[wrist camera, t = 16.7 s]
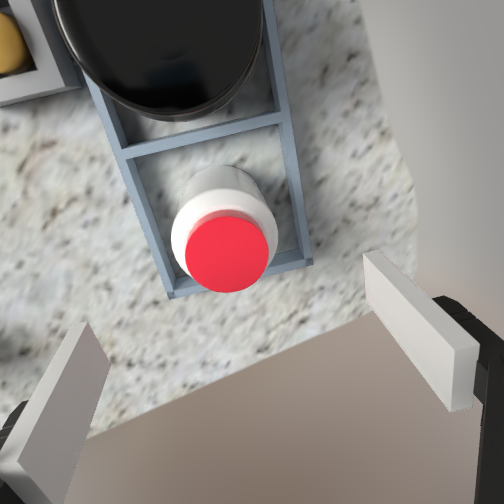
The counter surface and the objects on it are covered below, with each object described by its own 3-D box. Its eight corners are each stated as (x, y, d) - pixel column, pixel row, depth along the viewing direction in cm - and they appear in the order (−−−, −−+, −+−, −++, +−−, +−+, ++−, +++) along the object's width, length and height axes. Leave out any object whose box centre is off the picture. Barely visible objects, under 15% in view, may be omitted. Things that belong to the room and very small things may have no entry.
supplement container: (117, -72, 23) (38, -215, 13) (264, -14, 26) (304, -92, 15) (100, 92, 27) (28, 91, 16) (228, 130, 30) (239, 151, 19)
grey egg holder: (-59, 1, 24) (-100, -13, 21) (39, -22, 24) (14, -40, 21) (-6, 107, 27) (-35, 109, 24) (82, 87, 27) (65, 86, 24)
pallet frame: (47, -51, 23) (30, -67, 21) (250, -98, 24) (254, -118, 21) (171, 286, 35) (169, 299, 33) (306, 253, 35) (313, 264, 33)
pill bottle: (167, 226, 32) (148, 283, 23) (200, 149, 30) (195, 177, 20) (240, 256, 35) (253, 321, 25) (276, 187, 32) (307, 229, 22)
